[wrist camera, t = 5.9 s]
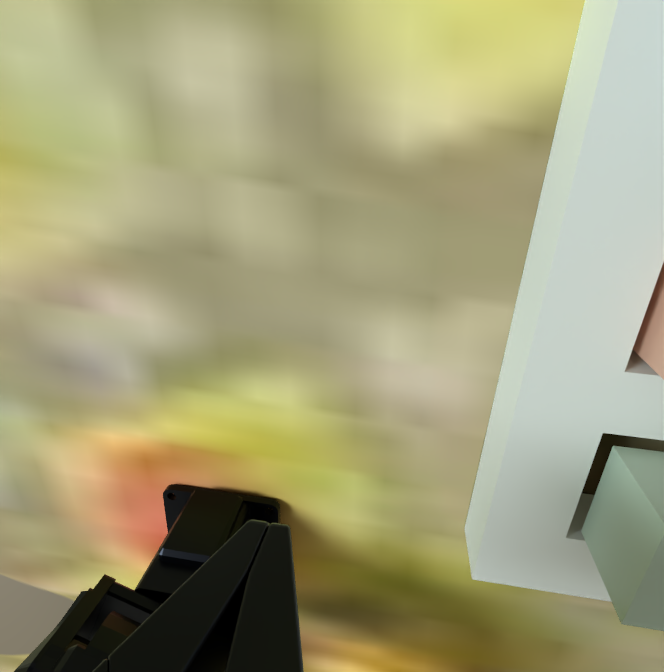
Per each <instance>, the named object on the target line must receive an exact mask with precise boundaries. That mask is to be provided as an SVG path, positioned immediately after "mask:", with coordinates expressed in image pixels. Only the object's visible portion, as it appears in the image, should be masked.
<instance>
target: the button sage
mask: <svg viewBox="0 0 664 672" xmlns="http://www.w3.org/2000/svg"><path fill="white" fill-rule="evenodd" d="M581 532H582V534H583V537H584V539H585V541H586V543H587V546H588V548H589V550H590V553H591V555H592V557H593V560H594V562H595V564H596V566H597V569H598V571H599V573H600V576H601V578H602V580H603V583H604V585H605V587H606V589H607V592H608V594H609V596H610V599H611V601H612V603H613V605H614V608H615V610H616V612H617V615H618V617H619V619H620V622H621V624H624V625H631V626H637V627H643V628H649V629H655V630H661V631H664V452H661V451H653V450H644V449H636V448H628V447H620V446H613V447H612V450H611V452H610V455H609V458H608V460H607V463H606V466H605V468H604V471H603V474H602V476H601V479H600V482H599V485H598V487H597V490H596V493H595V495H594V498H593V501H592V503H591V506H590V509H589V512H588V514H587V517H586V520H585V522H584V525H583V528H582V530H581Z"/></svg>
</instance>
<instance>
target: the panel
mask: <svg viewBox="0 0 664 672" xmlns="http://www.w3.org/2000/svg"><path fill="white" fill-rule="evenodd" d="M663 262H664V0H585V3H584V7H583V12H582V16H581V20H580V25H579V29H578V34H577V38H576V42H575V47H574V51H573V55H572V60H571V64H570V69H569V73H568V77H567V82H566V86H565V91H564V95H563V99H562V104H561V108H560V112H559V117H558V121H557V126H556V130H555V134H554V139H553V143H552V148H551V152H550V156H549V161H548V165H547V169H546V174H545V178H544V183H543V187H542V191H541V196H540V200H539V205H538V209H537V213H536V218H535V222H534V226H533V231H532V235H531V240H530V244H529V248H528V253H527V257H526V262H525V266H524V270H523V275H522V279H521V283H520V288H519V292H518V297H517V301H516V305H515V310H514V314H513V319H512V323H511V327H510V332H509V336H508V340H507V345H506V349H505V354H504V358H503V362H502V367H501V371H500V376H499V380H498V384H497V389H496V393H495V397H494V402H493V406H492V411H491V415H490V419H489V424H488V428H487V433H486V437H485V441H484V446H483V450H482V454H481V459H480V463H479V468H478V472H477V476H476V481H475V485H474V490H473V494H472V498H471V503H470V507H469V511H468V516H467V520H466V525H465V534H466V541H467V548H468V555H469V562H470V569H471V576H472V579H473V580H480V581H486V582H492V583H498V584H505V585H511V586H517V587H523V588H529V589H536V590H542V591H548V592H554V593H560V594H567V595H573V596H579V597H585V598H592V599H598V600H604V601H610V602H612V601H611V599H610V596H609V594H608V592H607V589H606V587H605V585H604V583H603V580H602V578H601V576H600V573H599V571H598V569H597V566H596V564H595V562H594V560H593V557H592V555H591V553H590V550H589V548H588V546H587V543H586V541H585V539H584V537H583V534H582V532H581V530H582V528H583V525H584V522H585V520H586V517H587V514H588V512H589V509H590V506H591V503H592V501H593V498H594V495H591V494H584V493H582V490H583V488H584V485H585V482H586V479H587V476H588V473H589V471H590V468H591V465H592V462H593V459H594V457H595V454H596V451H597V448H598V445H599V442H600V440H601V437H602V434H603V433H607V434H615V435H624V436H632V437H640V438H648V439H656V440H664V380H663V379H662V378H661V377H660V376H659V375H658V374H657V373H656V372H655V371H654V370H653V369H652V368H651V367H650V366H649V365H648V364H647V363H646V362H645V361H644V360H643V359H642V358H641V357H640V356H639V355H638V354H637V353H636V352H635V351H634V350H633V347H634V344H635V341H636V338H637V335H638V333H639V330H640V327H641V324H642V321H643V318H644V316H645V313H646V310H647V307H648V304H649V302H650V299H651V296H652V293H653V290H654V287H655V285H656V282H657V279H658V276H659V273H660V271H661V268H662V265H663Z"/></svg>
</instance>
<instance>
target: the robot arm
mask: <svg viewBox="0 0 664 672" xmlns="http://www.w3.org/2000/svg"><path fill="white" fill-rule="evenodd" d="M172 493H173V494H172ZM163 499H164V506H165V514H166V521H167V529H168V534H167V536H166V538H165V539H164V541H163V543H162V544H161V546H160V548H159V550H158V551H157V553H156V555H155V556H154V558H153V560H152V561H151V563H150V565H149V567H148V568H147V570H146V572H145V573H144V575H143V577H142V578H141V580H140V582H139V583H138V585H137V587H136V589H135V590H132V589H130V588H128V587H126V586H123V585H121V584H119V583H117V582H115V580H116V579H114V578H112V577H110V576H107V575H104V576H103V577H102V579H101V580H100V581H99V583H98V584H97V585H96V586H95V588H94V589H91V588H90V589H89V590H88V591H82V592H81V593H80V595H79V596H78V597H77V599H76V600H75V602H74V603H73V604H72V606H71V607H70V609H69V610H68V612H67V613H66V614H65V616H64V617H63V619H62V620H61V621H60V622H59V624H58V625H57V626H56V627H55V629H54V630H53V631H52V632H51V633H50V634H49V635H48V636H47V637H46V639H44V640H43V642H41V644H40V645H39V646H38V647H37V648H36V649H35V650H34V651H33V652H32V653H31V654H30V655H29V656H28V657H27V658H26V659H25V660H24V661H23V662H22V663H21V665H20V666H19V667H18V668H17V669H16V670H15V671H14V672H304V671H303V660H302V649H301V639H300V628H299V617H298V606H297V595H296V585H295V574H294V563H293V552H292V541H291V531H290V527H289V525H285V524H280V504H279V503H278V502H277V501H276V500H273V499H269V498H262V497H255V496H248V495H242V494H235V493H228V492H221V491H215V490H208V489H201V488H195V487H188V486H181V485H174V484H171V485H169V486H168V487H167V488H166V489H165V491H164V492H163ZM269 508H271V509H272V510H271V509H269Z"/></svg>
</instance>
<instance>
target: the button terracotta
mask: <svg viewBox="0 0 664 672" xmlns="http://www.w3.org/2000/svg"><path fill="white" fill-rule="evenodd" d="M633 350H634V351H635V352H636V353H637V354H638V355H639V356H640V357H641V358H642V359H643V360H644V361H645V362H646V363H647V364H648V365H649V366H650V367H651V368H652V369H653V370H654V371H655V372H656V373H657V374H658V375H659V376H660V377H661V378H662V379H663V380H664V262H663V265H662V268H661V271H660V273H659V276H658V279H657V282H656V285H655V287H654V290H653V293H652V296H651V299H650V302H649V304H648V307H647V310H646V313H645V316H644V318H643V321H642V324H641V327H640V330H639V333H638V335H637V338H636V341H635V344H634V347H633Z"/></svg>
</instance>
